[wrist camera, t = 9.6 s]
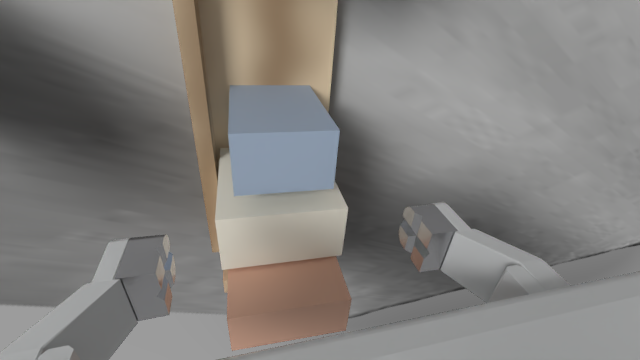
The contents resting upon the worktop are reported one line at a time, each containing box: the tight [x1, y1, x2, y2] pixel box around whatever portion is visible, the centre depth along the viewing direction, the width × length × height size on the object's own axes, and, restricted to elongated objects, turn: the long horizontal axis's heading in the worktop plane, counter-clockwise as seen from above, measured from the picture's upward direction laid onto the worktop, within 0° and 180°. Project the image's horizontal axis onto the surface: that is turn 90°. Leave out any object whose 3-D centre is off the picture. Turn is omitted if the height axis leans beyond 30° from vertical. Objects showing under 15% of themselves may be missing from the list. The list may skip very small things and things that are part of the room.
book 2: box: [227, 256, 351, 351], centre depth 21 cm, size 6×3×11 cm, turn 86°
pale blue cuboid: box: [228, 85, 340, 196], centre depth 19 cm, size 5×3×8 cm, turn 86°
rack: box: [172, 0, 338, 293], centre depth 19 cm, size 9×25×7 cm, turn 176°
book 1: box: [215, 148, 348, 270], centre depth 21 cm, size 7×4×8 cm, turn 87°
